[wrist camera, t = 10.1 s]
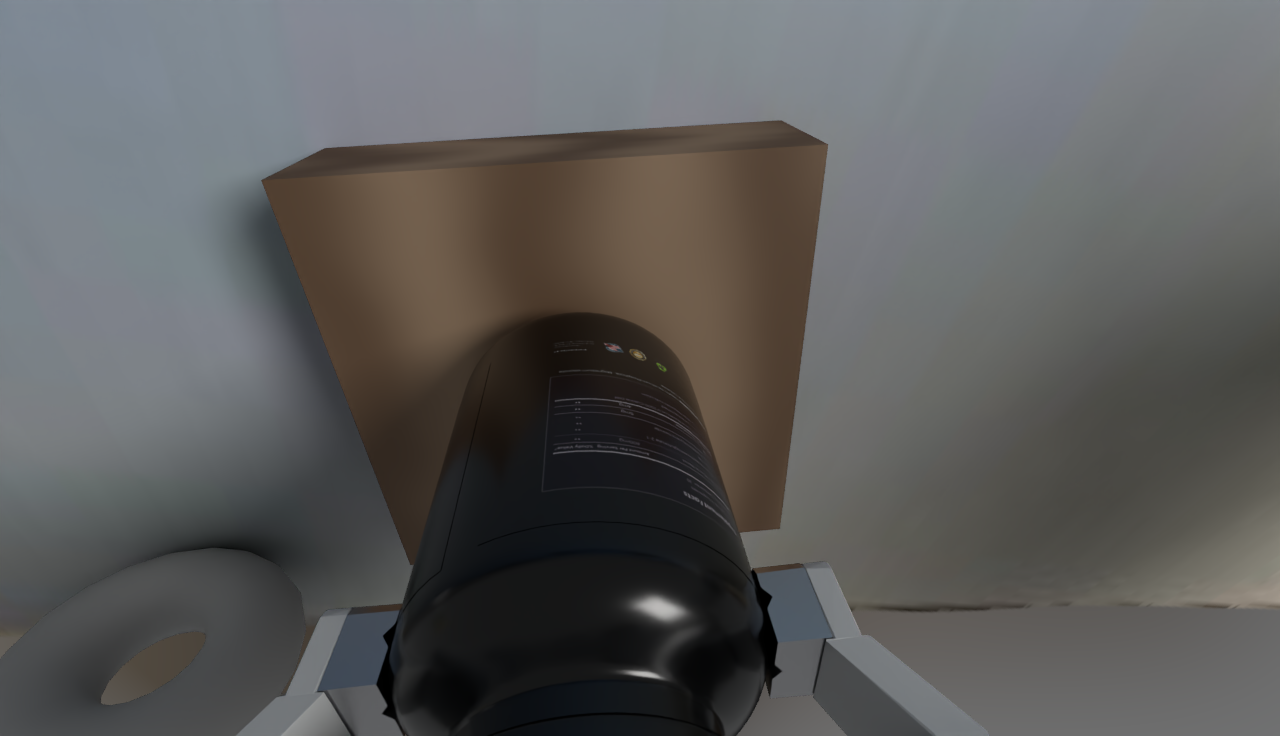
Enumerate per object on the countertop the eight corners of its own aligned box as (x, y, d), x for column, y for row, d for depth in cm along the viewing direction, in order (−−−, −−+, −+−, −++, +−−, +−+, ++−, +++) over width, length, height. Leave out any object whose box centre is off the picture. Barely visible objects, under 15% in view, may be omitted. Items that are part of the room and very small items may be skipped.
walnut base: (781, 120, 18) (827, 144, 14) (753, 459, 25) (779, 528, 22) (325, 148, 17) (261, 180, 14) (434, 489, 24) (410, 565, 21)
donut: (121, 586, 26) (-104, 862, 17) (87, 533, 24) (-181, 812, 16) (349, 579, 27) (243, 836, 19) (333, 528, 25) (207, 786, 17)
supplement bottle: (635, 506, 20) (688, 1028, 10) (439, 451, 18) (249, 1039, 8) (736, 352, 17) (970, 886, 7) (512, 261, 15) (355, 840, 5)
